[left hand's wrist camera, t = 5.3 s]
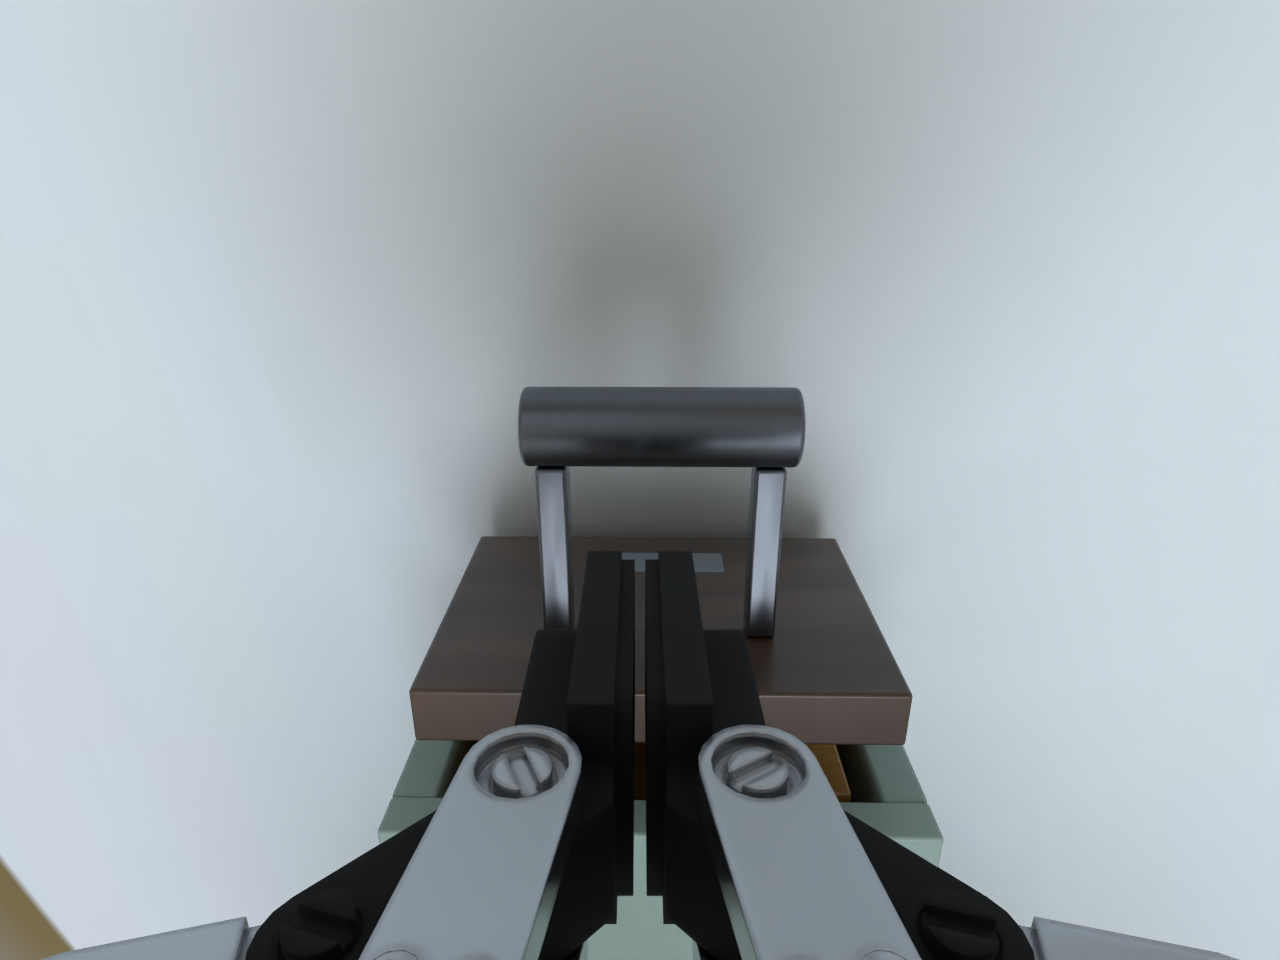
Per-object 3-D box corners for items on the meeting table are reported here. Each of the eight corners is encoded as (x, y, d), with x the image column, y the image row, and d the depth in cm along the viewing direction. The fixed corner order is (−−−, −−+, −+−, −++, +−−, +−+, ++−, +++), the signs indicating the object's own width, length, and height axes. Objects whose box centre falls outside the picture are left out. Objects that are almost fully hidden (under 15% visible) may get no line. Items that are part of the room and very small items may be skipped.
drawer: (464, 339, 19) (370, 422, 12) (856, 339, 18) (957, 424, 12) (521, 1004, 27) (483, 1244, 21) (787, 1008, 27) (825, 1250, 21)
